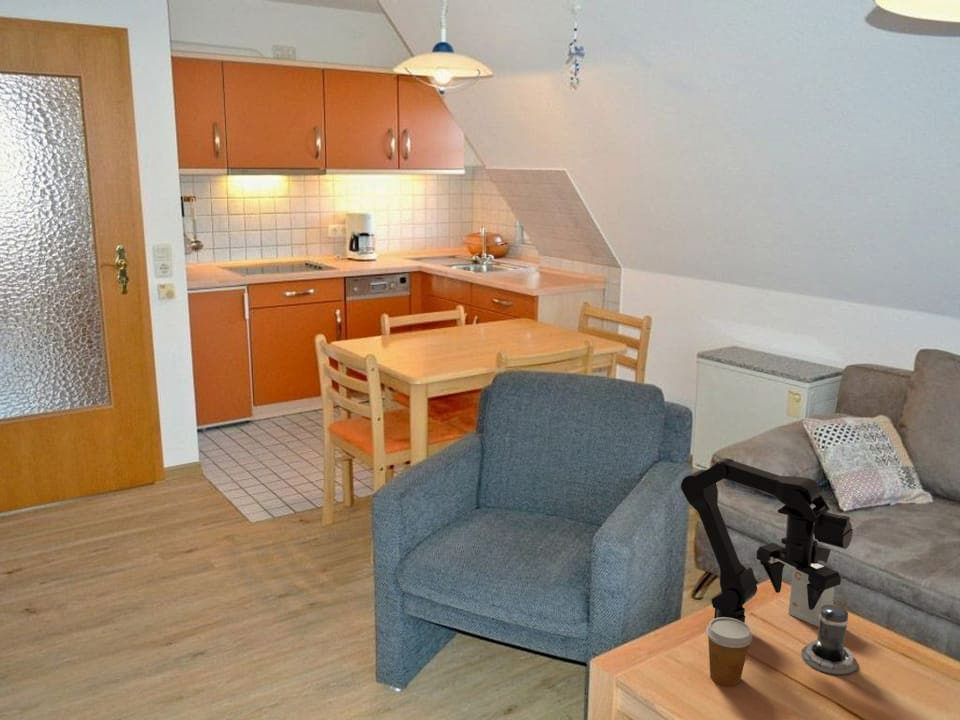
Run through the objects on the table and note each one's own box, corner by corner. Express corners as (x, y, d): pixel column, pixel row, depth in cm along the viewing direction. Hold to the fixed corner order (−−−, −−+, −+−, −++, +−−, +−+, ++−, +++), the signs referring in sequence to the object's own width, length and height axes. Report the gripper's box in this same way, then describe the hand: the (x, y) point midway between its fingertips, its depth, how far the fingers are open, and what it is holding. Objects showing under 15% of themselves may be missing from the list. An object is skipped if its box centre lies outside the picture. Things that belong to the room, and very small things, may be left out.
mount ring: (790, 654, 191) (791, 646, 190) (823, 640, 197) (824, 633, 196) (834, 681, 181) (835, 672, 181) (868, 665, 187) (869, 657, 187)
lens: (809, 654, 190) (814, 607, 187) (825, 647, 193) (831, 601, 190) (831, 668, 185) (837, 619, 182) (848, 660, 188) (854, 613, 185)
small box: (831, 619, 206) (837, 570, 204) (817, 627, 203) (823, 578, 200) (801, 606, 213) (806, 558, 210) (787, 613, 209) (792, 565, 206)
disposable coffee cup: (748, 670, 184) (753, 620, 182) (747, 695, 176) (752, 643, 173) (704, 661, 187) (708, 612, 185) (700, 685, 179) (704, 634, 176)
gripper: (860, 543, 182) (854, 609, 185) (790, 514, 197) (785, 576, 201) (826, 554, 176) (820, 622, 179) (756, 523, 192) (752, 587, 195)
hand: (794, 600), depth 189 cm, fingers open, 9 cm apart
